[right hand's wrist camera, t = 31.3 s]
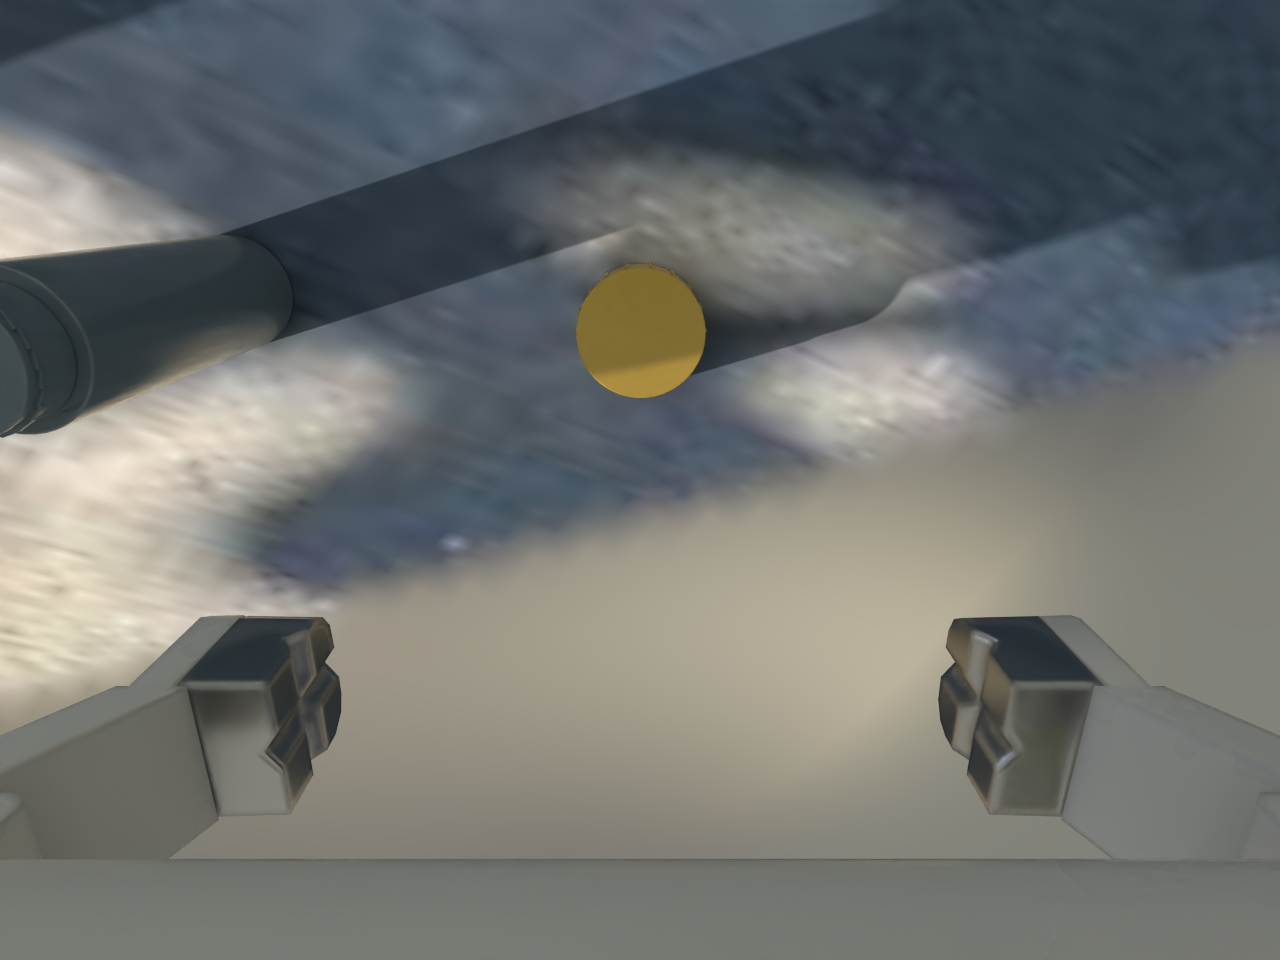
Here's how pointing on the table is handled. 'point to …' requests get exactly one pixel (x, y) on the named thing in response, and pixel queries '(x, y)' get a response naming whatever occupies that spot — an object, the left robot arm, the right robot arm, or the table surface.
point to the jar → (128, 322)
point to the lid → (641, 330)
